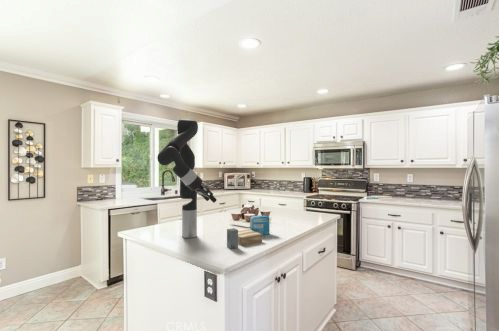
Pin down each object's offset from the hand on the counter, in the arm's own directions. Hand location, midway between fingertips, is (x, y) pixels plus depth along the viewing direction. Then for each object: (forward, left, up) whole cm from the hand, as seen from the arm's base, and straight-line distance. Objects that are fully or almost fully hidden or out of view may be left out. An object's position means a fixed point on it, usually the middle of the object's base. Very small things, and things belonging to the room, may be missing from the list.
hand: (211, 200), depth 141 cm
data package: (-15, +42, -27) cm, 52 cm away
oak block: (-7, +25, -27) cm, 38 cm away
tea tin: (0, +13, -27) cm, 30 cm away
